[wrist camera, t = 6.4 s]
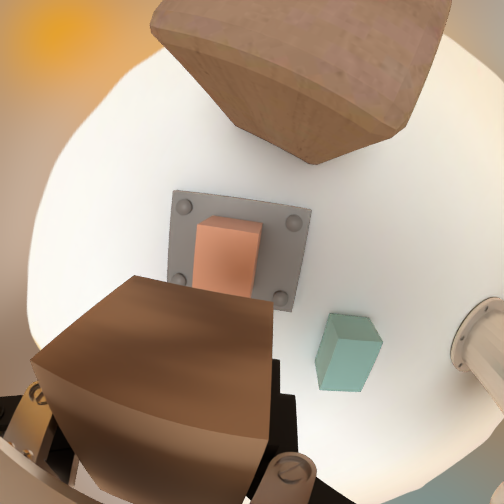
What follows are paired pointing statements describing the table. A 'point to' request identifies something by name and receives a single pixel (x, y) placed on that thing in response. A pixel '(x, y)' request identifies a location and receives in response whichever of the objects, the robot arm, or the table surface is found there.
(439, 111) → the table surface
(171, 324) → the walnut brick
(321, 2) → the block
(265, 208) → the baseplate
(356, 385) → the teal brick
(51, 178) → the table surface
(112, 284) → the table surface
